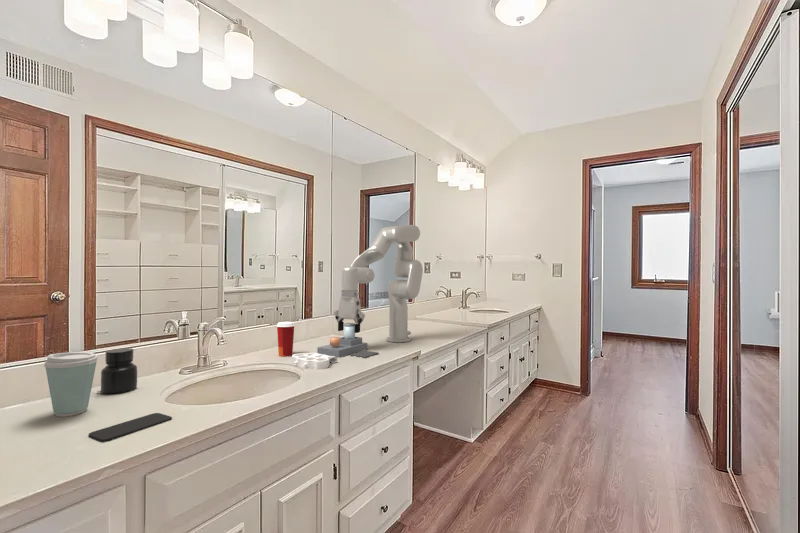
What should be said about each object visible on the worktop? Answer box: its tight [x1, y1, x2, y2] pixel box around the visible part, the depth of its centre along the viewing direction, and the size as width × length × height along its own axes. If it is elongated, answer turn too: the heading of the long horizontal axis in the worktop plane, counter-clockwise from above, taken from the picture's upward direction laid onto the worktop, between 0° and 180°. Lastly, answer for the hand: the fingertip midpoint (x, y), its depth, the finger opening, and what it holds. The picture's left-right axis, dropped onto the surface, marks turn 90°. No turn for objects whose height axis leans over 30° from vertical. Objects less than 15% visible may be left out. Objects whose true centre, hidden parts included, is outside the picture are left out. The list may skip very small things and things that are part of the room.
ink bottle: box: [100, 347, 138, 395], centre depth 117 cm, size 10×9×12 cm
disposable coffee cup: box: [43, 351, 99, 418], centre depth 98 cm, size 11×11×15 cm
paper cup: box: [276, 321, 296, 358], centre depth 165 cm, size 8×8×14 cm
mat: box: [349, 350, 380, 359], centre depth 166 cm, size 10×8×1 cm
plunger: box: [329, 336, 341, 348], centre depth 168 cm, size 4×4×7 cm
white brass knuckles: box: [291, 352, 338, 370], centre depth 150 cm, size 3×18×15 cm
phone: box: [88, 412, 173, 443], centre depth 89 cm, size 7×1×15 cm
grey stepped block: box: [317, 336, 368, 358], centre depth 173 cm, size 20×12×6 cm, turn 148°
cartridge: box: [343, 322, 356, 340], centre depth 176 cm, size 5×5×9 cm
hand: (348, 331), depth 176 cm, fingers open, 9 cm apart
